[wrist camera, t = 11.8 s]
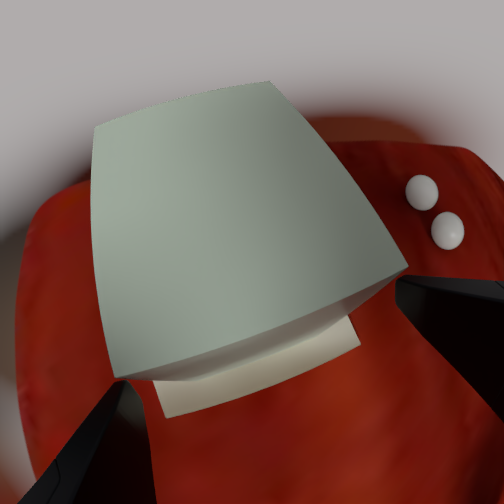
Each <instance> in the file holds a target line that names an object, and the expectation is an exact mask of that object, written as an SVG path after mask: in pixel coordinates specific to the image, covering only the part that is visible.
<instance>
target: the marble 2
mask: <svg viewBox="0 0 504 504" xmlns="http://www.w3.org/2000/svg"><path fill="white" fill-rule="evenodd" d="M431 234H432V238H433V240H434V242H435V243H436V244H437V245H438V246H439V247H440V248H442V249H446V250H450V249H454V248H456V247H457V246H458V245H459V244H460V243H461V241H462V239H463V236H464V226H463V223H462V221H461V219H460V218H459V217H458V216H457V215H455V214H454V213H451V212H443V213H441V214H439V215H438V216H437V217H436V218H435V219H434V221H433V223H432V226H431Z"/></svg>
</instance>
